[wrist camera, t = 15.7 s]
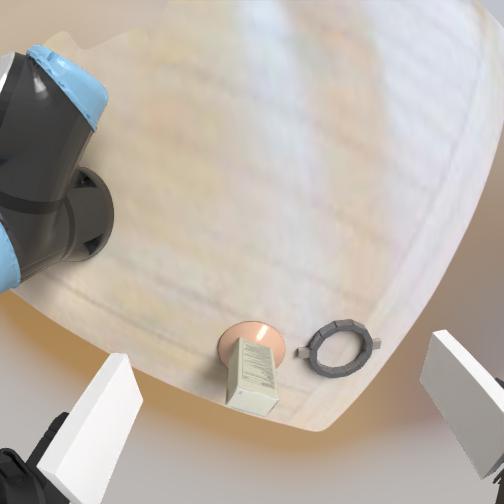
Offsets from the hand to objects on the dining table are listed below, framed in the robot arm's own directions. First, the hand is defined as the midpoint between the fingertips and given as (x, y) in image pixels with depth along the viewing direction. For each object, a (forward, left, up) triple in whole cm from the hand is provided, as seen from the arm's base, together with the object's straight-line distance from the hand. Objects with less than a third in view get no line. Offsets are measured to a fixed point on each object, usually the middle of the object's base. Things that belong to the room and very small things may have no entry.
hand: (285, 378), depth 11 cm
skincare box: (-3, -20, -31) cm, 37 cm away
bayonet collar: (+12, -21, -32) cm, 40 cm away
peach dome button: (-3, -20, -32) cm, 38 cm away
